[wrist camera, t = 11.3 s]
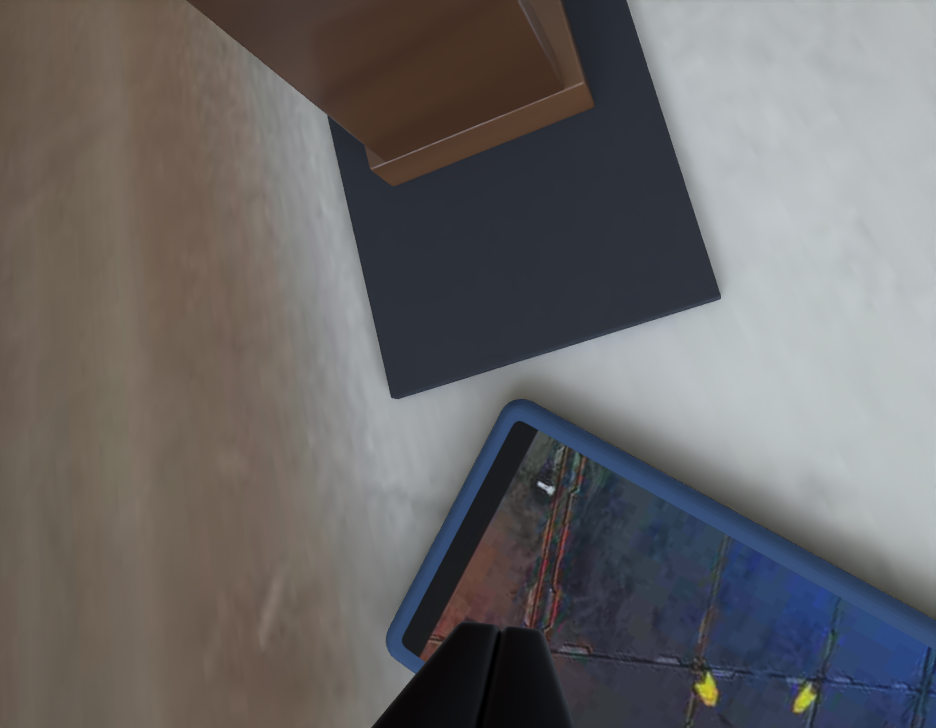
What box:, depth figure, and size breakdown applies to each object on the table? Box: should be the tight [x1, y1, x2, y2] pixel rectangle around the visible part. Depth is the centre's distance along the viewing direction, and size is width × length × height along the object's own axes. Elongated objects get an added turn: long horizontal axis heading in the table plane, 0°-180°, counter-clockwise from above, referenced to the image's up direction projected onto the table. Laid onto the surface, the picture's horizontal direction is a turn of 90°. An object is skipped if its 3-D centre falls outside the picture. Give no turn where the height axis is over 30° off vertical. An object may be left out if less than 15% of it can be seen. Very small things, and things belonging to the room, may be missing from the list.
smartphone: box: [386, 399, 936, 728], centre depth 19 cm, size 8×1×15 cm
